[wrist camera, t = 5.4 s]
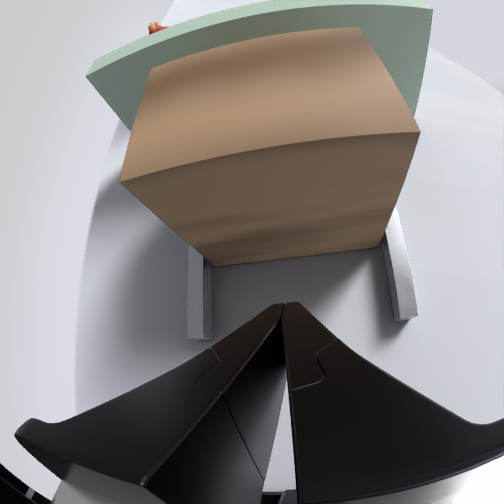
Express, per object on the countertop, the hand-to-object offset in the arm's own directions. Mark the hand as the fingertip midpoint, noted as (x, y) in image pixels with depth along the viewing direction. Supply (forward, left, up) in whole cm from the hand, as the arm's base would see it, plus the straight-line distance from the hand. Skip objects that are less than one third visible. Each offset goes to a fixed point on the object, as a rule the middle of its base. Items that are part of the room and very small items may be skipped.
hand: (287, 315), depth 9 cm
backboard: (+16, 0, -7) cm, 18 cm away
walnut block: (+8, 0, -7) cm, 11 cm away
